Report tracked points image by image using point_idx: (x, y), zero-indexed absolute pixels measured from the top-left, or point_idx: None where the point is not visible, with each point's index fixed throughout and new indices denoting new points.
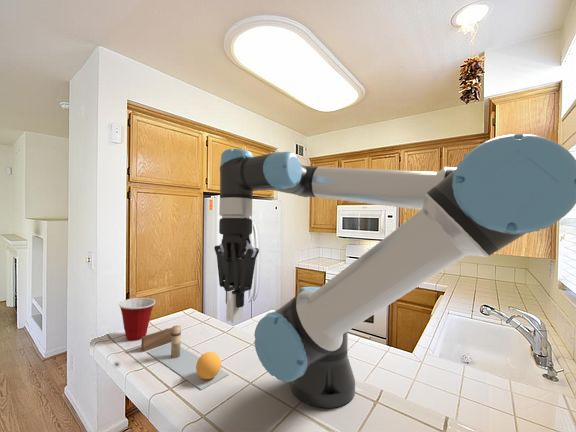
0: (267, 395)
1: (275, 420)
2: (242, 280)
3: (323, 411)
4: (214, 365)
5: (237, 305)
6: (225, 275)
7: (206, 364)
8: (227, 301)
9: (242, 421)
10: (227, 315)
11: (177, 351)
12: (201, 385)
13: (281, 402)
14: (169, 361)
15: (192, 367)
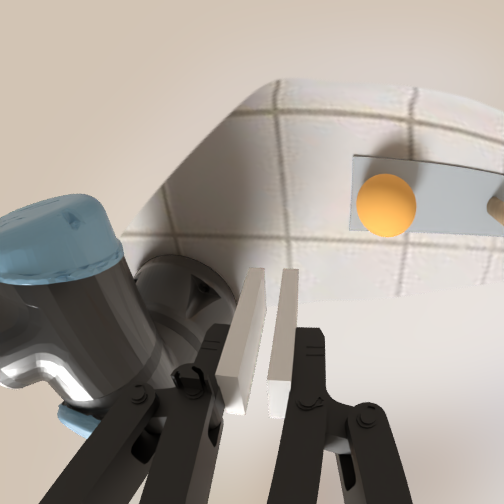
0: (230, 231)
1: (172, 195)
2: (108, 439)
3: (143, 256)
4: (361, 204)
5: (221, 331)
6: (307, 491)
7: (374, 190)
8: (287, 333)
9: (208, 154)
10: (289, 283)
11: (494, 209)
12: (365, 165)
13: (198, 232)
14: (488, 184)
15: (436, 198)
